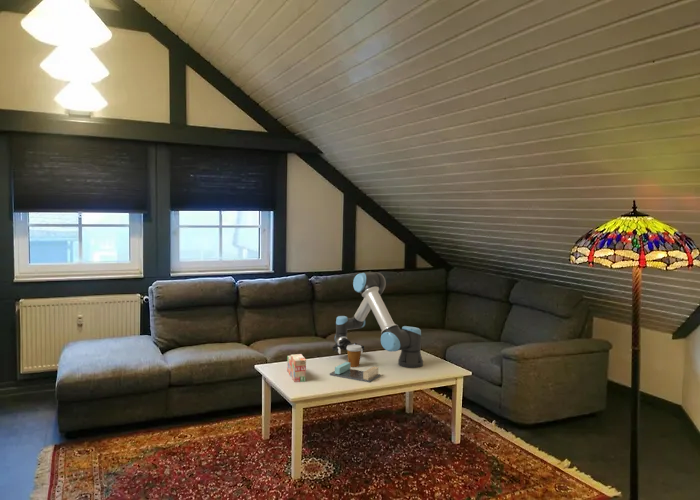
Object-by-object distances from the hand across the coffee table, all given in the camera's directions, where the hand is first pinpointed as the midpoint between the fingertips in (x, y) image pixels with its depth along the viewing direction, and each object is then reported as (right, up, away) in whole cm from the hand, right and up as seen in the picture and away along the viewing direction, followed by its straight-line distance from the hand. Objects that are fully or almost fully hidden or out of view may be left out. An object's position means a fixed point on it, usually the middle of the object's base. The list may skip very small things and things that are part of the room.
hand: (351, 351), depth 343 cm
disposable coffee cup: (+2, -8, -6) cm, 10 cm away
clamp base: (+2, -9, -26) cm, 28 cm away
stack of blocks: (-31, -9, -30) cm, 44 cm away
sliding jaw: (-5, -7, -23) cm, 24 cm away
